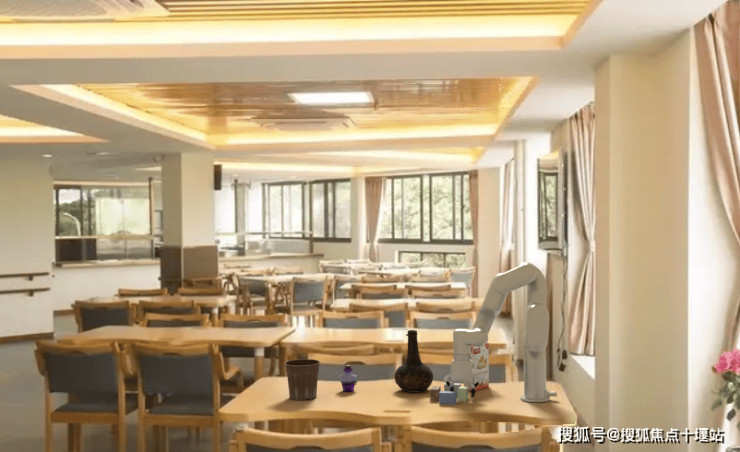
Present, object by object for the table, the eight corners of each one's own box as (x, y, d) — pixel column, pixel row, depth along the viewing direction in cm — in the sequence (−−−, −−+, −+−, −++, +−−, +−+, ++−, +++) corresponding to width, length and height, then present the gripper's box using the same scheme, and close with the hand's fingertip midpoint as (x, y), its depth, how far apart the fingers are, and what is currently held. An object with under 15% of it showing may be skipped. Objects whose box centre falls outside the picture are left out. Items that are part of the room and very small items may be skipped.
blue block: (456, 403, 360) (456, 391, 360) (455, 405, 356) (455, 393, 356) (440, 402, 361) (440, 391, 361) (439, 404, 358) (439, 392, 358)
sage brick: (467, 398, 369) (467, 386, 369) (465, 401, 362) (465, 390, 362) (460, 397, 370) (459, 386, 370) (457, 401, 363) (457, 389, 363)
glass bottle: (433, 386, 395) (432, 327, 395) (432, 394, 377) (431, 332, 377) (396, 386, 397) (395, 327, 397) (393, 394, 379) (392, 333, 379)
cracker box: (475, 392, 381) (474, 346, 381) (463, 390, 385) (462, 345, 385) (490, 386, 392) (489, 342, 392) (478, 385, 396) (478, 341, 396)
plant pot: (315, 402, 366) (314, 365, 366) (280, 401, 369) (279, 365, 369) (325, 394, 382) (324, 359, 382) (291, 393, 385) (290, 358, 385)
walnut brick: (440, 397, 371) (440, 386, 371) (437, 401, 364) (437, 389, 364) (433, 397, 372) (432, 386, 372) (430, 400, 365) (429, 389, 365)
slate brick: (460, 394, 377) (460, 383, 377) (459, 396, 374) (459, 384, 374) (445, 393, 379) (445, 382, 379) (444, 395, 376) (444, 384, 376)
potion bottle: (360, 391, 387) (360, 365, 387) (343, 393, 383) (343, 367, 383) (353, 388, 395) (352, 362, 395) (336, 390, 391) (335, 364, 391)
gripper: (482, 356, 367) (483, 395, 368) (443, 355, 372) (444, 394, 372) (480, 359, 360) (481, 399, 360) (440, 358, 365) (441, 397, 365)
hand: (462, 396), depth 366 cm, fingers open, 8 cm apart
